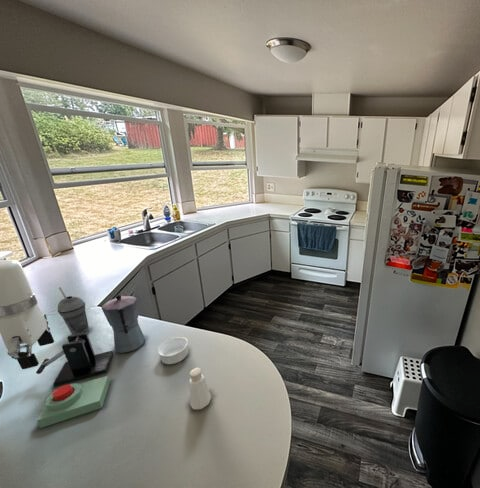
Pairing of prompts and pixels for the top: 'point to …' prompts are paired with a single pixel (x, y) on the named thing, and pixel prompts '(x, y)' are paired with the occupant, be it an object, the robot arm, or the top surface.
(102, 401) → the control block
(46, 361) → the lever
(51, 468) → the top surface
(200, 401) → the pepper shaker
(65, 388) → the stop button
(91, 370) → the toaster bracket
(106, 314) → the moka pot
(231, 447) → the top surface
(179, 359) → the ramekin
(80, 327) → the beverage cup
